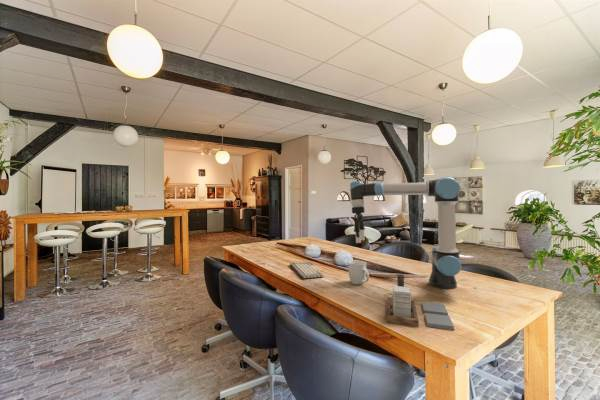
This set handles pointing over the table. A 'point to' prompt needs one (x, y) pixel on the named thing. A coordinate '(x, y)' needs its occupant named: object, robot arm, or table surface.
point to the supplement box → (401, 301)
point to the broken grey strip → (437, 315)
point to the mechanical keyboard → (305, 270)
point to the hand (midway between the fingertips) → (360, 241)
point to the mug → (357, 272)
